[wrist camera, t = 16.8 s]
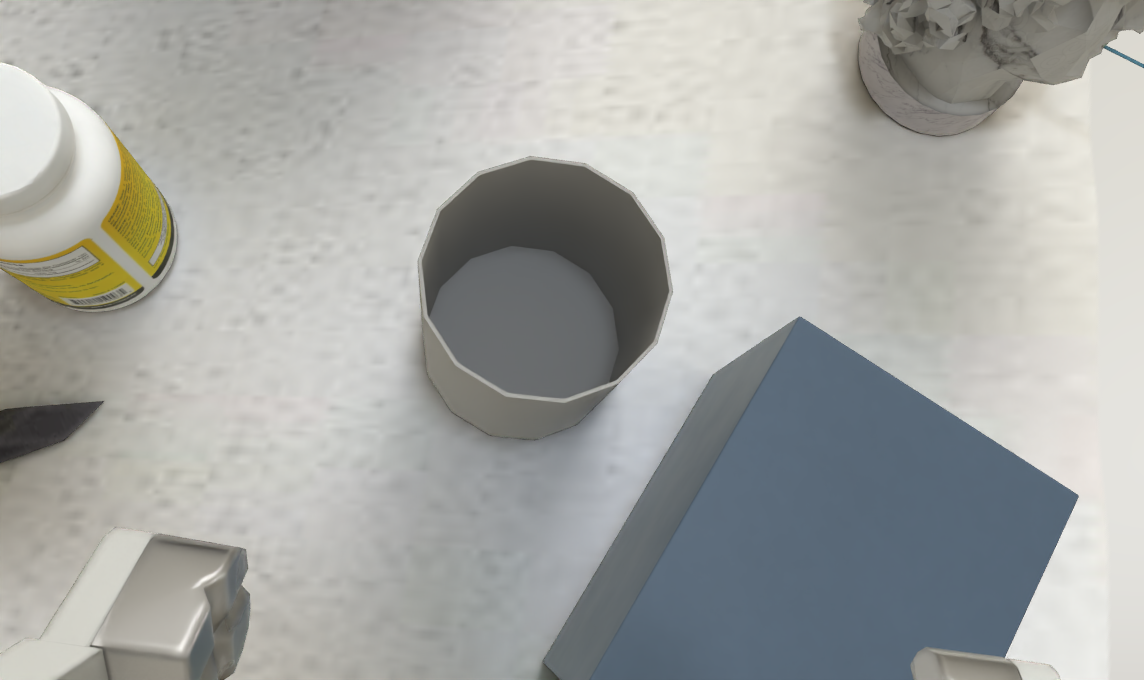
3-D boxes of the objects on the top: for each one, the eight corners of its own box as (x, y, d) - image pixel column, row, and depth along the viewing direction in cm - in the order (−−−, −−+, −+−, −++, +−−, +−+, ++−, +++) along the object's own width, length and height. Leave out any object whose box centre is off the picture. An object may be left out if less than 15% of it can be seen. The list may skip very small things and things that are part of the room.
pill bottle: (103, 144, 41) (-15, -2, 30) (212, 238, 41) (132, 124, 30) (-13, 248, 40) (-180, 132, 29) (100, 346, 39) (-27, 267, 29)
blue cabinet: (774, 811, 39) (893, 901, 29) (542, 661, 39) (578, 698, 29) (926, 510, 42) (1080, 495, 32) (713, 373, 42) (799, 314, 32)
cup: (583, 467, 41) (628, 438, 31) (395, 403, 40) (382, 354, 31) (640, 284, 43) (699, 203, 33) (462, 222, 42) (469, 122, 33)
